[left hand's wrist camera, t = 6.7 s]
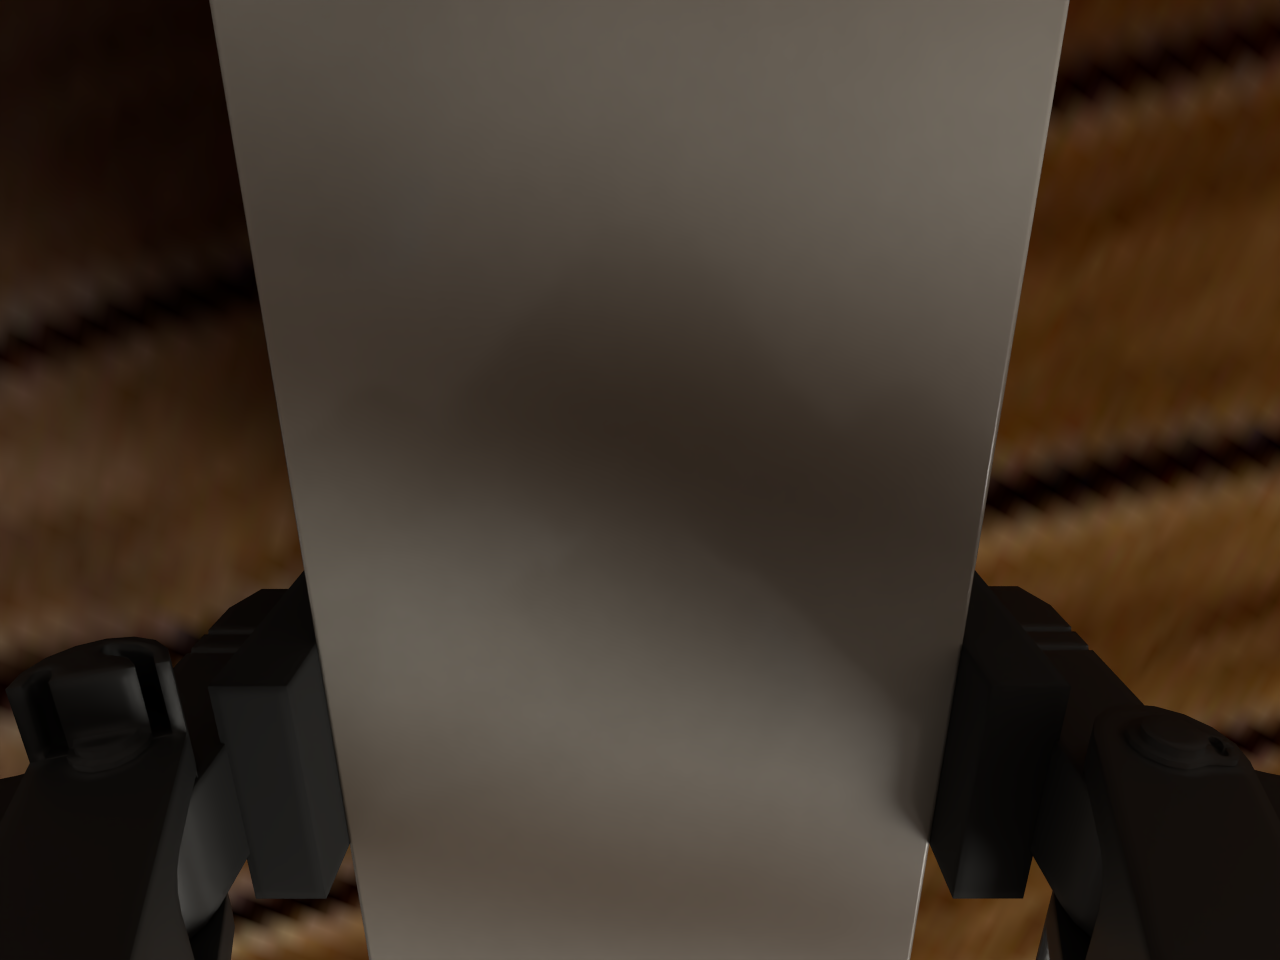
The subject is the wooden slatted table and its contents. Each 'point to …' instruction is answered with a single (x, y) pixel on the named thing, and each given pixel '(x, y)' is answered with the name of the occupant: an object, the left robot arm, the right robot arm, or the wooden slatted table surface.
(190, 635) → the wooden slatted table surface
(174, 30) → the wooden slatted table surface
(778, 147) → the cabinet
